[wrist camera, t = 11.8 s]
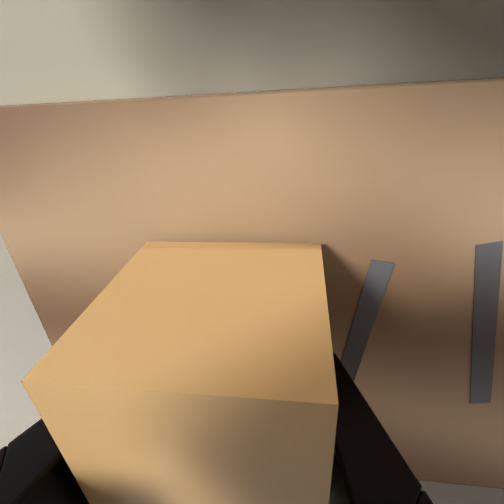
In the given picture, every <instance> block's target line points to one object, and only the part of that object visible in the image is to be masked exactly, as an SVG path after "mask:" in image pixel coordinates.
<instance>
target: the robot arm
mask: <svg viewBox="0 0 504 504" xmlns="http://www.w3.org/2000/svg"><path fill="white" fill-rule="evenodd" d="M333 358H334V367H335V376H336V385H337V394H338V404H339V406H338V416H337V426H336V436H335V446H334V456H333V467H332V477H331V487H330V497H329V504H433V503H432V501H431V500H430V498H429V496H428V495H427V493H426V492H425V491H422V486H421V484H420V483H419V481H418V480H417V478H416V477H415V475H414V474H413V472H412V471H411V469H410V467H409V466H408V464H407V463H406V461H405V460H404V458H403V457H402V455H401V454H400V452H399V451H398V449H397V447H396V446H395V444H394V443H393V441H392V440H391V438H390V437H389V435H388V434H387V432H386V430H385V429H384V427H383V426H382V424H381V423H380V421H379V420H378V418H377V417H376V415H375V414H374V412H373V410H372V409H371V407H370V406H369V404H368V403H367V401H366V400H365V398H364V397H363V395H362V394H361V392H360V390H359V389H358V387H357V386H356V384H355V383H354V381H353V380H352V378H351V377H350V375H349V373H348V372H347V370H346V369H345V367H344V366H343V364H342V363H341V361H340V360H339V358H338V357H337V355H336V354H335V353H334V352H333ZM0 504H89V502H88V500H87V498H86V497H85V495H84V493H83V491H82V489H81V488H80V486H79V484H78V482H77V481H76V479H75V477H74V475H73V473H72V472H71V470H70V468H69V466H68V464H67V463H66V461H65V459H64V457H63V455H62V454H61V452H60V450H59V448H58V446H57V445H56V443H55V441H54V439H53V438H52V436H51V434H50V432H49V430H48V429H47V427H46V425H45V423H44V421H43V420H42V419H40V420H39V421H38V422H36V423H35V424H34V425H32V426H31V427H30V428H28V429H27V430H26V431H24V432H23V433H22V434H20V435H19V436H18V437H16V438H15V439H14V440H13V441H11V442H10V443H9V444H8V447H7V446H5V447H3V448H2V449H0Z"/></svg>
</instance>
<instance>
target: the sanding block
mask: <svg viewBox="0 0 504 504" xmlns="http://www.w3.org/2000/svg"><path fill="white" fill-rule="evenodd" d="M21 382H22V384H23V386H24V387H25V389H26V391H27V393H28V394H29V396H30V398H31V400H32V402H33V403H34V405H35V407H36V409H37V411H38V412H39V414H40V416H41V418H42V420H43V421H44V423H45V425H46V427H47V429H48V430H49V432H50V434H51V436H52V438H53V439H54V441H55V443H56V445H57V446H58V448H59V450H60V452H61V454H62V455H63V457H64V459H65V461H66V463H67V464H68V466H69V468H70V470H71V472H72V473H73V475H74V477H75V479H76V481H77V482H78V484H79V486H80V488H81V489H82V491H83V493H84V495H85V497H86V498H87V500H88V502H89V504H329V497H330V487H331V477H332V467H333V456H334V446H335V436H336V426H337V416H338V406H339V404H338V394H337V385H336V376H335V367H334V358H333V349H332V340H331V331H330V322H329V313H328V304H327V295H326V286H325V277H324V268H323V259H322V250H321V243H249V242H146V243H145V244H144V245H143V246H142V247H141V249H140V250H139V251H138V252H137V253H136V254H135V255H134V256H133V257H132V258H131V260H130V261H129V262H128V263H127V264H126V265H125V266H124V267H123V268H122V270H121V271H120V272H119V273H118V274H117V275H116V276H115V277H114V278H113V280H112V281H111V282H110V283H109V284H108V285H107V286H106V287H105V288H104V290H103V291H102V292H101V293H100V294H99V295H98V296H97V297H96V298H95V300H94V301H93V302H92V303H91V304H90V305H89V306H88V307H87V308H86V310H85V311H84V312H83V313H82V314H81V315H80V316H79V317H78V318H77V319H76V321H75V322H74V323H73V324H72V325H71V326H70V327H69V328H68V329H67V331H66V332H65V333H64V334H63V335H62V336H61V337H60V338H59V339H58V341H57V342H56V343H55V344H54V345H53V346H52V347H51V348H50V349H49V351H48V352H47V353H46V354H45V355H44V356H43V357H42V358H41V359H40V361H39V362H38V363H37V364H36V365H35V366H34V367H33V368H32V369H31V371H30V372H29V373H28V374H27V375H26V376H25V377H24V378H23V379H22V380H21Z"/></svg>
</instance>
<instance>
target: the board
mask: <svg viewBox="0 0 504 504" xmlns="http://www.w3.org/2000/svg"><path fill="white" fill-rule="evenodd" d="M0 234H1V236H2V238H3V240H4V242H5V244H6V247H7V249H8V251H9V253H10V255H11V257H12V260H13V262H14V264H15V266H16V268H17V270H18V273H19V275H20V277H21V279H22V281H23V284H24V286H25V288H26V290H27V292H28V294H29V297H30V299H31V301H32V303H33V305H34V307H35V310H36V312H37V314H38V316H39V318H40V320H41V323H42V325H43V327H44V329H45V331H46V334H47V336H48V338H49V340H50V342H51V344H52V346H53V345H54V344H55V343H56V342H57V341H58V339H59V338H60V337H61V336H62V335H63V334H64V333H65V332H66V331H67V329H68V328H69V327H70V326H71V325H72V324H73V323H74V322H75V321H76V319H77V318H78V317H79V316H80V315H81V314H82V313H83V312H84V311H85V310H86V308H87V307H88V306H89V305H90V304H91V303H92V302H93V301H94V300H95V298H96V297H97V296H98V295H99V294H100V293H101V292H102V291H103V290H104V288H105V287H106V286H107V285H108V284H109V283H110V282H111V281H112V280H113V278H114V277H115V276H116V275H117V274H118V273H119V272H120V271H121V270H122V268H123V267H124V266H125V265H126V264H127V263H128V262H129V261H130V260H131V258H132V257H133V256H134V255H135V254H136V253H137V252H138V251H139V250H140V249H141V247H142V246H143V245H144V244H145V243H146V242H249V243H321V250H322V259H323V268H324V277H325V286H326V295H327V304H328V313H329V322H330V331H331V340H332V349H333V352H334V353H335V354H336V355H337V357H338V358H339V360H340V361H341V363H342V364H343V366H344V367H345V369H346V370H347V372H348V373H349V375H350V377H351V378H352V380H353V381H354V383H355V384H356V386H357V387H358V389H359V390H360V392H361V394H362V395H363V397H364V398H365V400H366V401H367V403H368V404H369V406H370V407H371V409H372V410H373V412H374V414H375V415H376V417H377V418H378V420H379V421H380V423H381V424H382V426H383V427H384V429H385V430H386V432H387V434H388V435H389V437H390V438H391V440H392V441H393V443H394V444H395V446H396V447H397V449H398V451H399V452H400V454H401V455H402V457H403V458H404V460H405V461H406V463H407V464H408V466H409V467H410V469H411V471H412V472H413V474H414V475H415V477H416V478H417V480H423V481H433V482H443V483H453V484H463V485H472V486H482V487H492V488H502V489H504V78H488V79H470V80H452V81H435V82H417V83H399V84H382V85H364V86H346V87H329V88H311V89H293V90H276V91H258V92H240V93H223V94H205V95H187V96H170V97H152V98H134V99H117V100H99V101H81V102H64V103H46V104H28V105H11V106H0Z"/></svg>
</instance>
